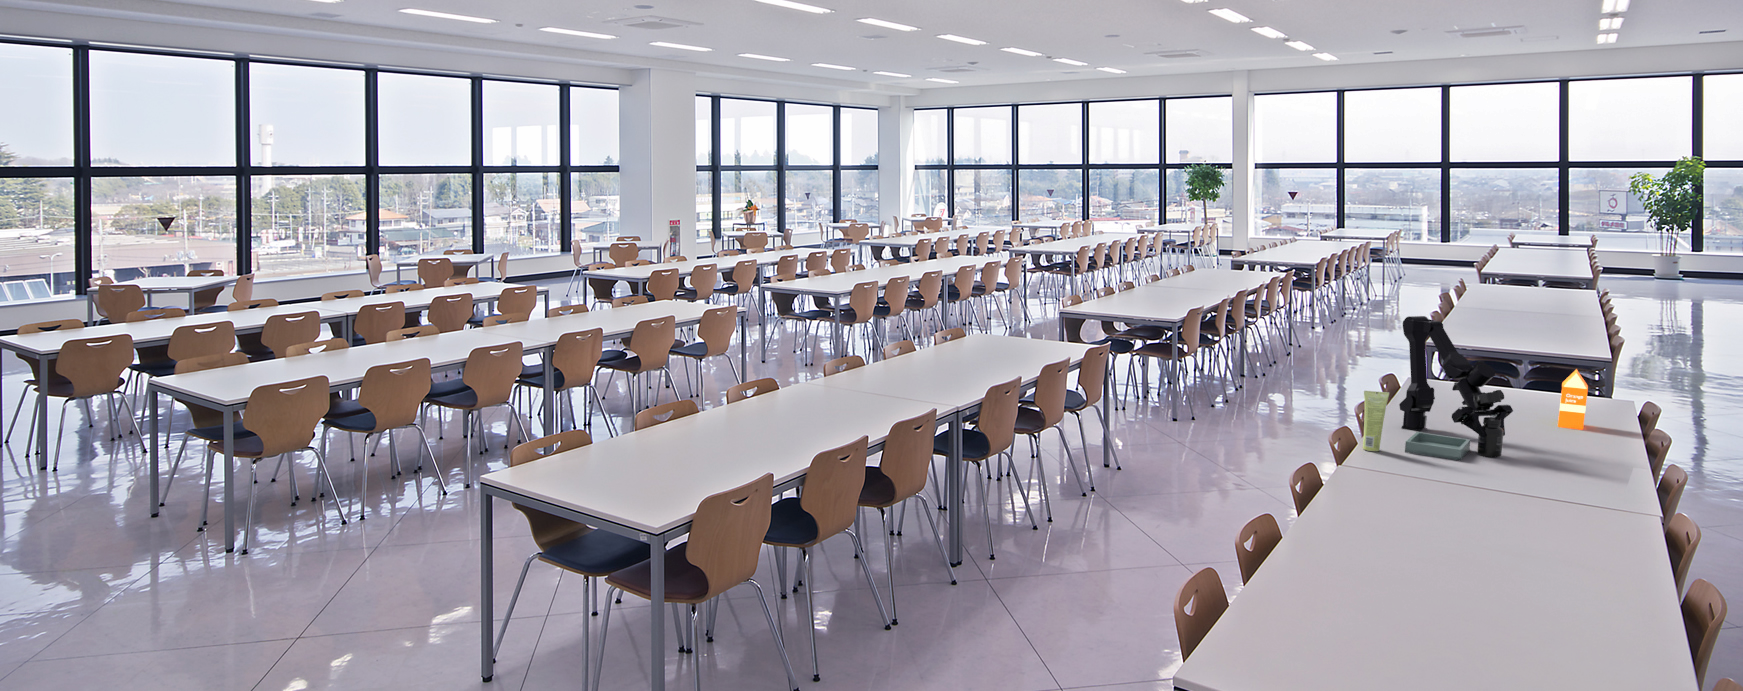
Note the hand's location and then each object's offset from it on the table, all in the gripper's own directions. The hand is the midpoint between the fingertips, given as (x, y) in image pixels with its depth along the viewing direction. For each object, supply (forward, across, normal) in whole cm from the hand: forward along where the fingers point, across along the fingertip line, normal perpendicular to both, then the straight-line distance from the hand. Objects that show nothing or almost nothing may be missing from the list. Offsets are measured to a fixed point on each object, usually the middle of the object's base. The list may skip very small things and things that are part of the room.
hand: (1494, 436), depth 344 cm
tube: (-5, -33, +15) cm, 36 cm away
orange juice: (-16, +58, +25) cm, 65 cm away
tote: (-2, -13, +11) cm, 17 cm away
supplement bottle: (+4, 0, +6) cm, 7 cm away
